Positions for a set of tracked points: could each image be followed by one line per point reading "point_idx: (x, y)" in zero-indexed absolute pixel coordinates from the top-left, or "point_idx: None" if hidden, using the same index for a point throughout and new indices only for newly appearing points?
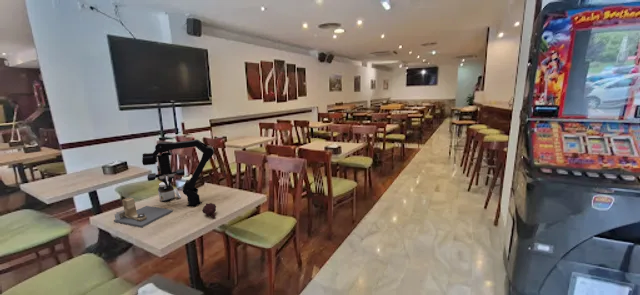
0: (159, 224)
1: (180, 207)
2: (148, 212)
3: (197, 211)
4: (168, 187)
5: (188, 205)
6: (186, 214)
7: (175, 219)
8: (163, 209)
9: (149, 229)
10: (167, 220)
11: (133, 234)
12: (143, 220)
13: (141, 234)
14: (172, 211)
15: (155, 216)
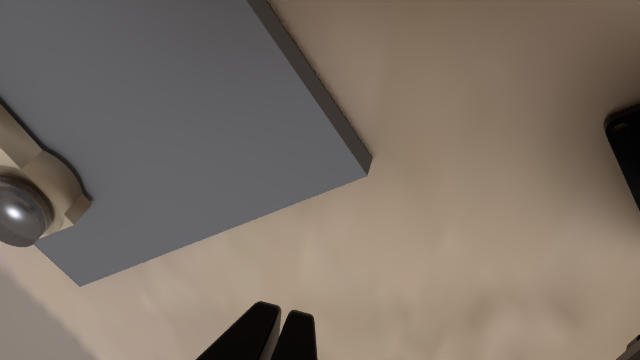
0: (222, 320)
1: (506, 91)
2: (64, 14)
3: (603, 353)
4: (270, 357)
5: (622, 157)
6: (476, 329)
7: (354, 339)
8: (257, 65)
9: (156, 334)
10: (288, 306)
11: (62, 319)
12: None
13: (116, 353)
14: (367, 162)
15: (172, 205)
